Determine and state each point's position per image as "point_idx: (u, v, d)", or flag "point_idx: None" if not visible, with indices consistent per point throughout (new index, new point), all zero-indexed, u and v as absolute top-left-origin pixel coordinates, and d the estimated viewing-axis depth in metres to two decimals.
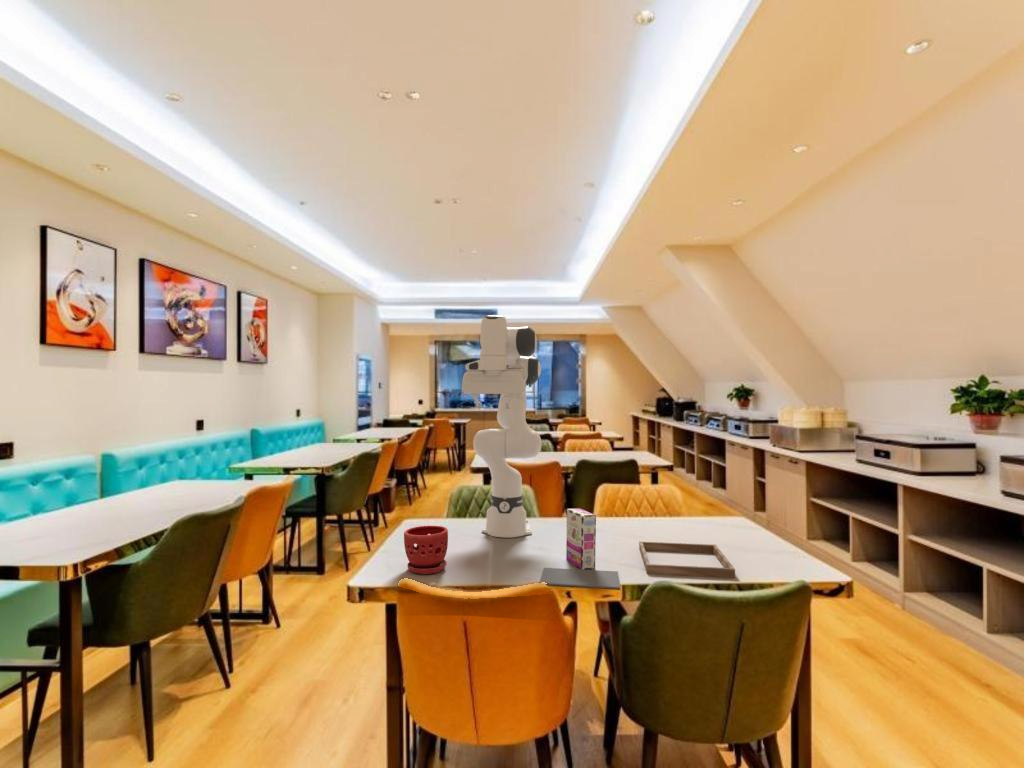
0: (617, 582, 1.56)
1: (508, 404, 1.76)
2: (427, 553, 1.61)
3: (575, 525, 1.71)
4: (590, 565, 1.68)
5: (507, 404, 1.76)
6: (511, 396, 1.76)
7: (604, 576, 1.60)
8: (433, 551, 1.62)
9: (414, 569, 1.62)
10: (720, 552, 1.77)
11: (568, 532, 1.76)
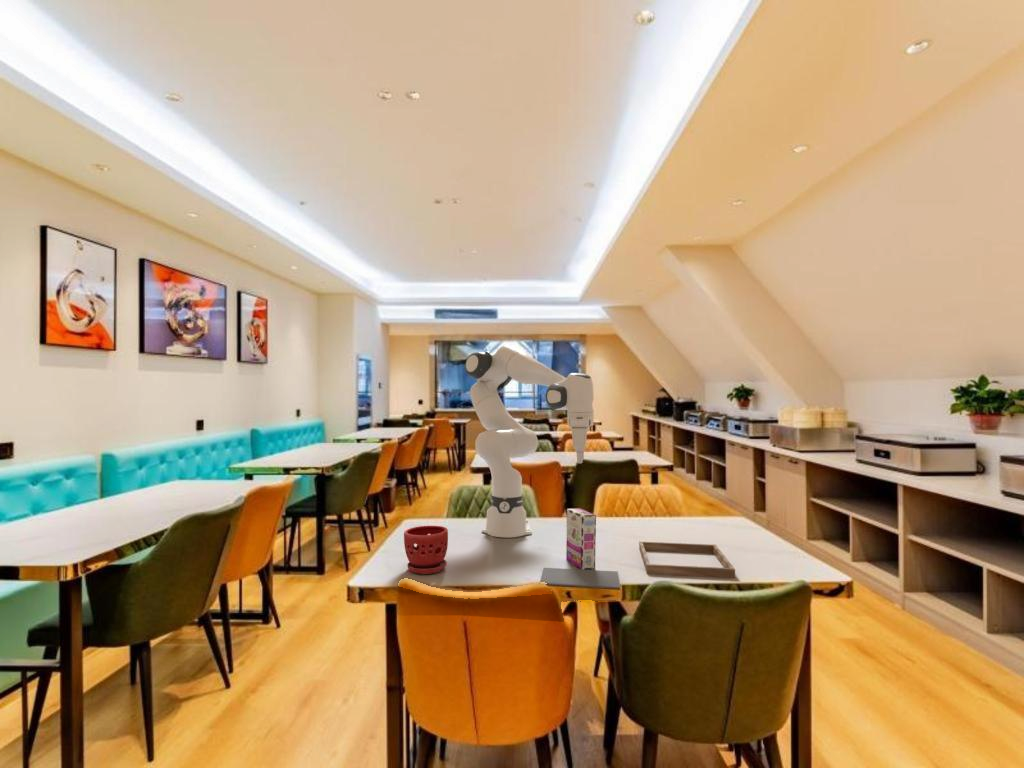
0: (617, 582, 1.56)
1: (583, 455, 1.94)
2: (427, 553, 1.61)
3: (575, 525, 1.71)
4: (590, 565, 1.68)
5: (583, 455, 1.94)
6: None
7: (604, 576, 1.60)
8: (433, 551, 1.62)
9: (414, 569, 1.62)
10: (720, 552, 1.77)
11: (568, 532, 1.76)
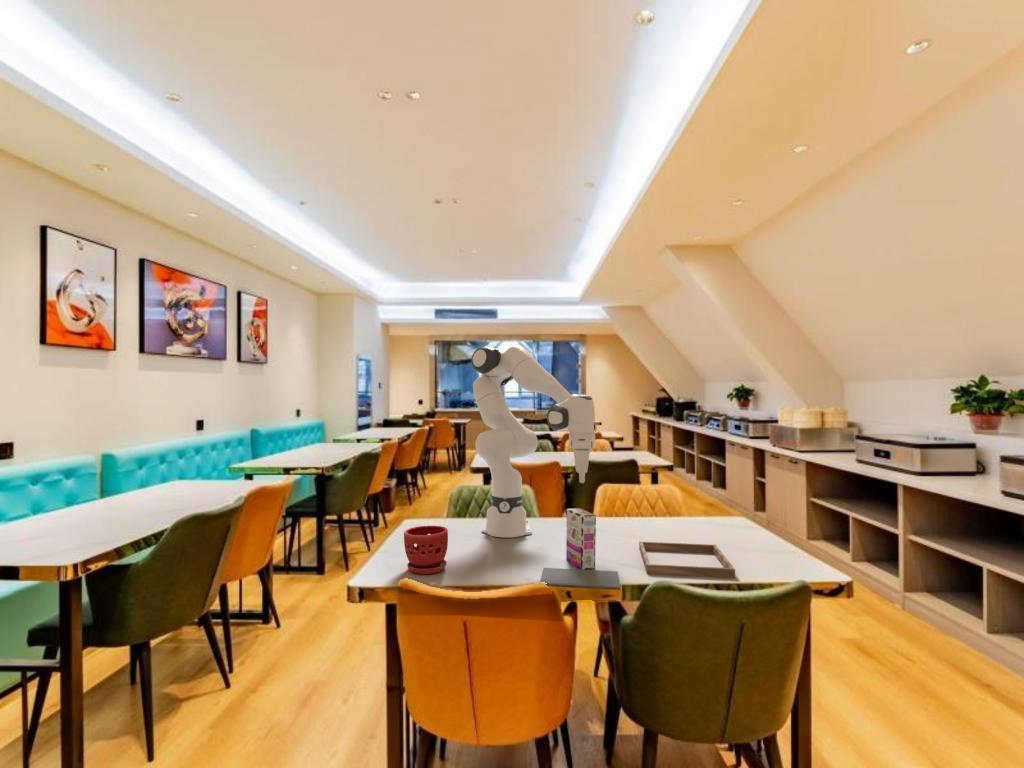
0: (617, 582, 1.56)
1: None
2: (427, 553, 1.61)
3: (575, 525, 1.71)
4: (590, 565, 1.68)
5: None
6: None
7: (604, 576, 1.60)
8: (433, 551, 1.62)
9: (414, 569, 1.62)
10: (720, 552, 1.77)
11: (568, 532, 1.76)
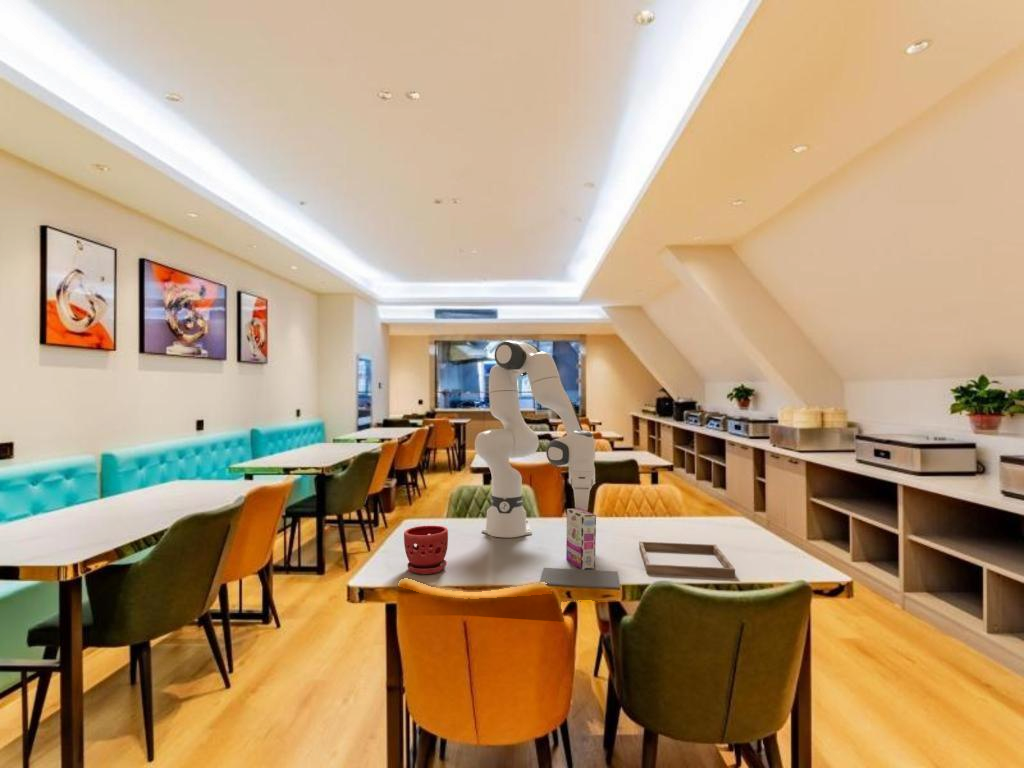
0: (617, 582, 1.56)
1: None
2: (427, 553, 1.61)
3: (575, 525, 1.71)
4: (590, 565, 1.68)
5: None
6: None
7: (604, 576, 1.60)
8: (433, 551, 1.62)
9: (414, 569, 1.62)
10: (720, 552, 1.77)
11: (568, 532, 1.76)
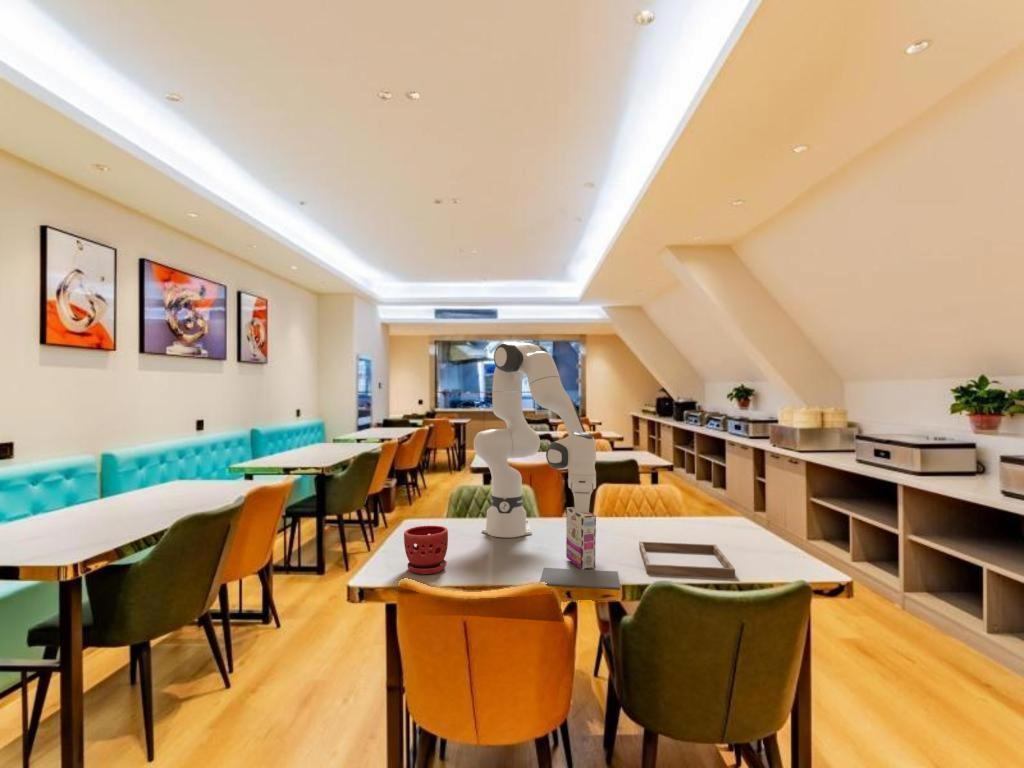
0: (617, 582, 1.56)
1: None
2: (427, 553, 1.61)
3: (575, 525, 1.70)
4: (590, 564, 1.68)
5: None
6: None
7: (604, 576, 1.60)
8: (433, 551, 1.62)
9: (414, 569, 1.62)
10: (720, 552, 1.77)
11: (568, 531, 1.75)
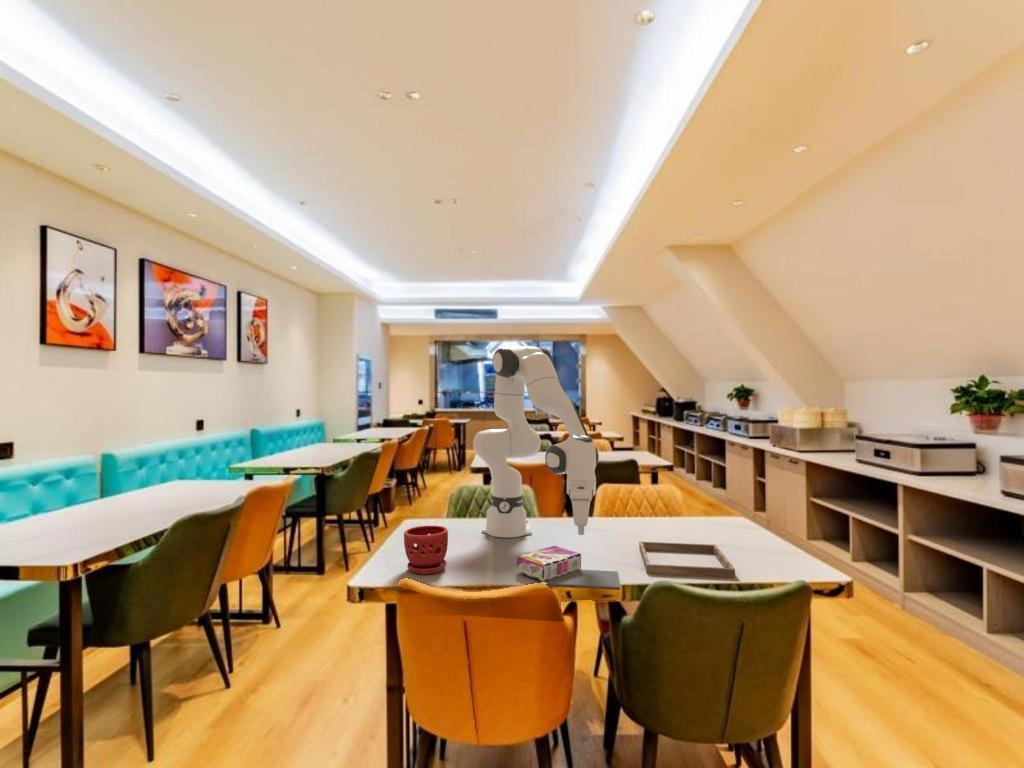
0: (617, 582, 1.56)
1: None
2: (427, 553, 1.61)
3: None
4: (578, 560, 1.66)
5: None
6: None
7: (604, 576, 1.60)
8: (433, 551, 1.62)
9: (414, 569, 1.62)
10: (720, 552, 1.77)
11: None
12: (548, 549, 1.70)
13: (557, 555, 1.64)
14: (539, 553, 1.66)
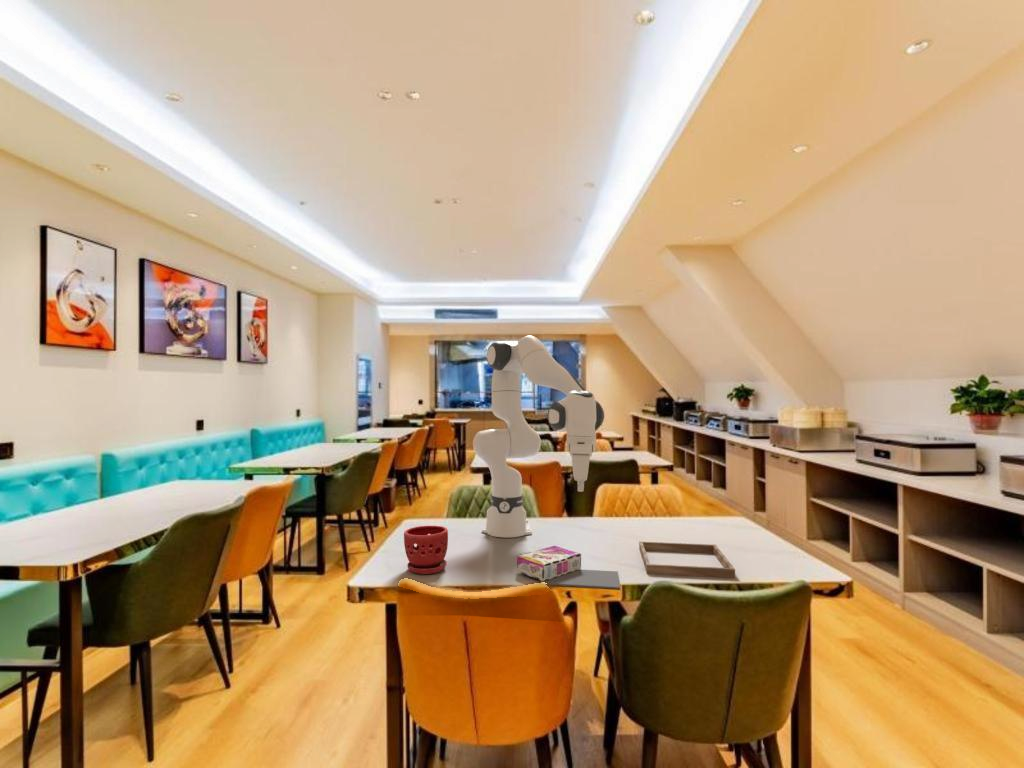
0: (617, 582, 1.56)
1: None
2: (427, 553, 1.61)
3: None
4: (578, 560, 1.66)
5: None
6: None
7: (604, 576, 1.60)
8: (433, 551, 1.62)
9: (414, 569, 1.62)
10: (720, 552, 1.77)
11: None
12: (548, 549, 1.70)
13: (557, 555, 1.64)
14: (539, 553, 1.66)
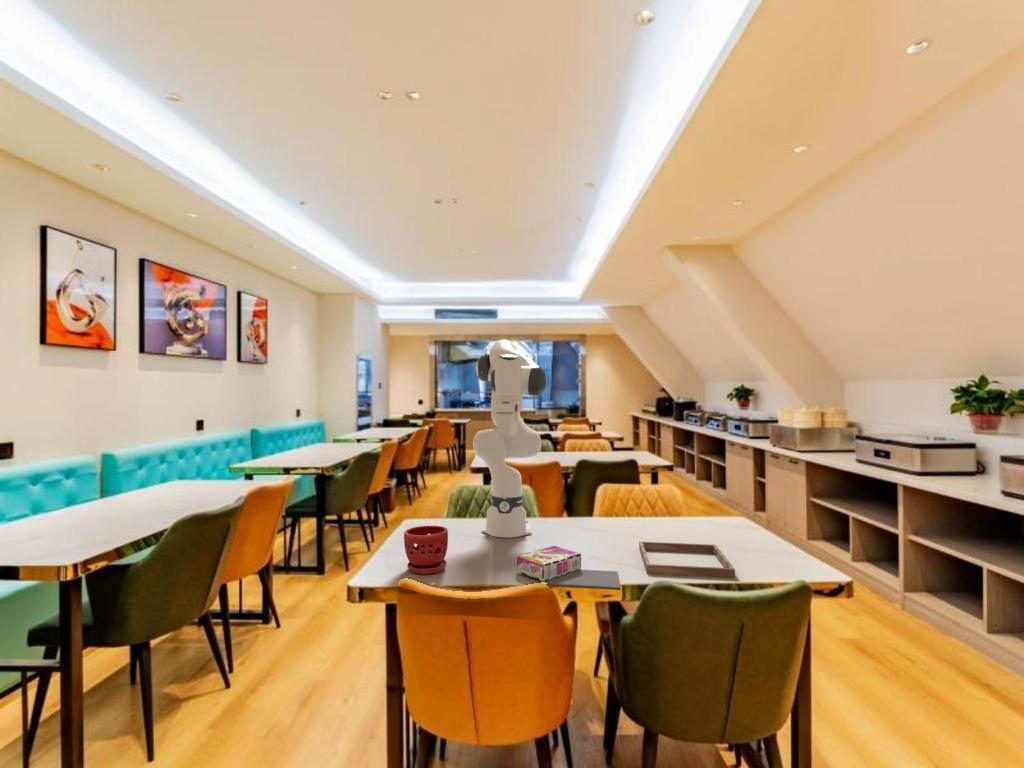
0: (617, 582, 1.56)
1: (511, 444, 1.77)
2: (427, 553, 1.61)
3: None
4: (578, 560, 1.66)
5: (511, 445, 1.76)
6: (512, 436, 1.78)
7: (604, 576, 1.60)
8: (433, 551, 1.62)
9: (414, 569, 1.62)
10: (720, 552, 1.77)
11: None
12: (548, 549, 1.70)
13: (557, 555, 1.64)
14: (539, 553, 1.66)
